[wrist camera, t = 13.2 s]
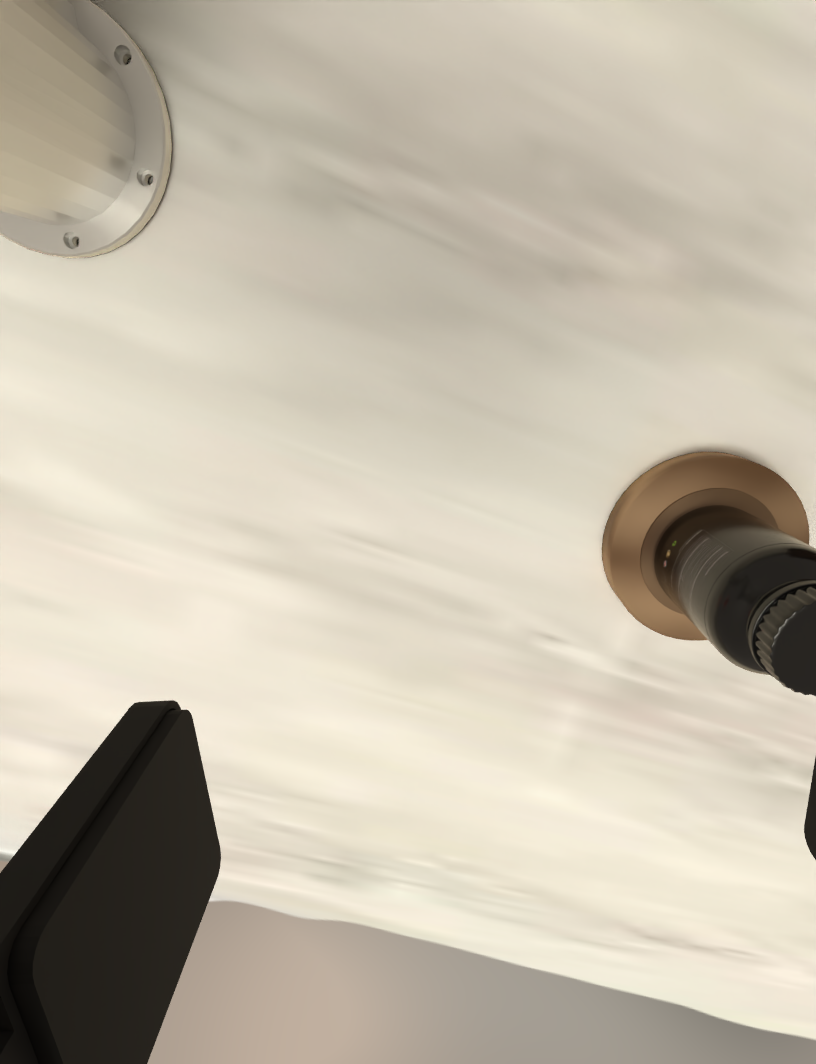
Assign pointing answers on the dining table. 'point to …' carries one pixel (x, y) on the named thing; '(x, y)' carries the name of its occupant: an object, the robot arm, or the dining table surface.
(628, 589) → the stand
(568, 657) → the dining table surface
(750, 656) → the supplement bottle
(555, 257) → the dining table surface
